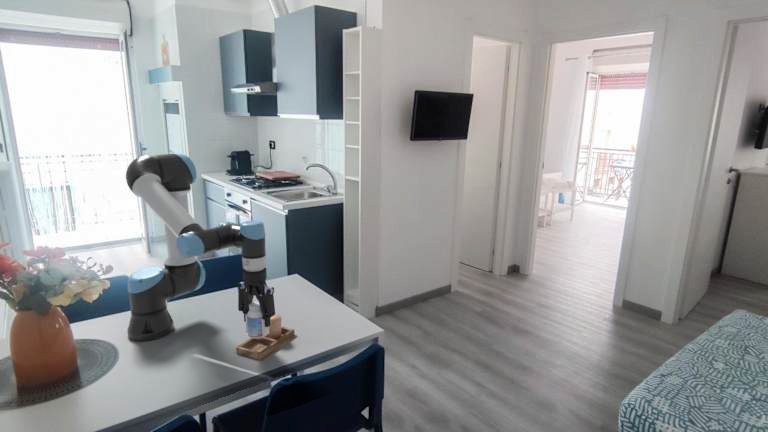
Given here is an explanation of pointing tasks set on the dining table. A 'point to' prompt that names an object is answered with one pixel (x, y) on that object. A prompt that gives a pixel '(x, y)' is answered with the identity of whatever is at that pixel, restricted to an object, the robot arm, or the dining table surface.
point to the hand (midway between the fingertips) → (257, 332)
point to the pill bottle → (254, 321)
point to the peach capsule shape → (275, 327)
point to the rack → (264, 345)
